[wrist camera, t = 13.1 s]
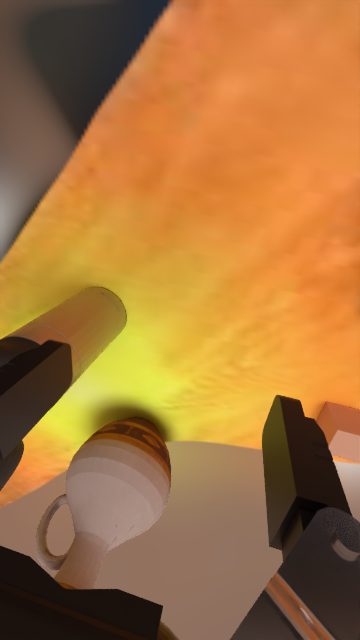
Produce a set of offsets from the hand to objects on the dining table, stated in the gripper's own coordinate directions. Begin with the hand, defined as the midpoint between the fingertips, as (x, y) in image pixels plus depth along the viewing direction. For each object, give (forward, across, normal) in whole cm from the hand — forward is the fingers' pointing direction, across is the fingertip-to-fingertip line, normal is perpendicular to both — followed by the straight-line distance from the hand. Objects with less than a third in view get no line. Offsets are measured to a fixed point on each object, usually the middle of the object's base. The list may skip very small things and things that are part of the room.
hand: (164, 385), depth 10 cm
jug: (+30, +10, +40) cm, 51 cm away
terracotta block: (+30, -24, +24) cm, 45 cm away
